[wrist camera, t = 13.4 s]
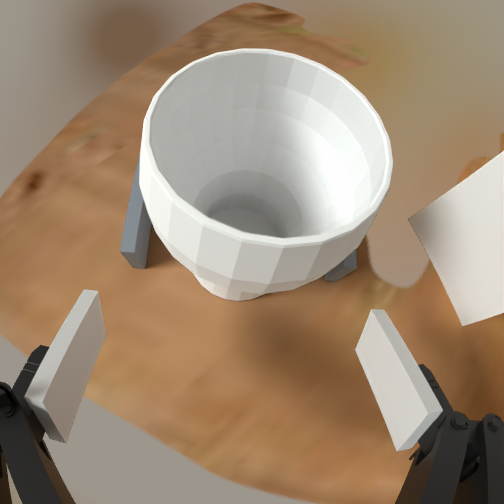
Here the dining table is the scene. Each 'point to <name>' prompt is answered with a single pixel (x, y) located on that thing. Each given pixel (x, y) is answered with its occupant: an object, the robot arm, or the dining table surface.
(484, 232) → the milk
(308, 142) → the cup
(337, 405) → the dining table surface
